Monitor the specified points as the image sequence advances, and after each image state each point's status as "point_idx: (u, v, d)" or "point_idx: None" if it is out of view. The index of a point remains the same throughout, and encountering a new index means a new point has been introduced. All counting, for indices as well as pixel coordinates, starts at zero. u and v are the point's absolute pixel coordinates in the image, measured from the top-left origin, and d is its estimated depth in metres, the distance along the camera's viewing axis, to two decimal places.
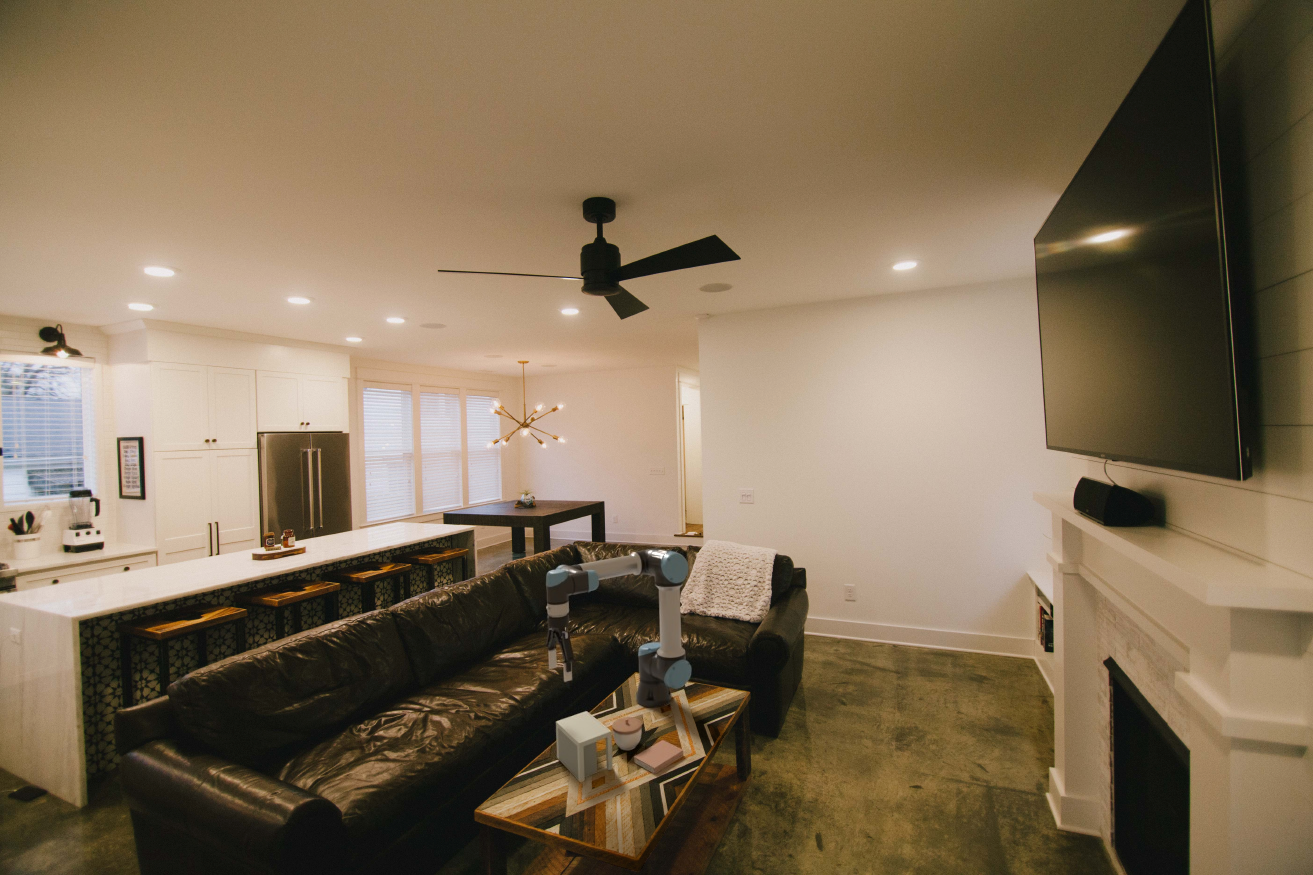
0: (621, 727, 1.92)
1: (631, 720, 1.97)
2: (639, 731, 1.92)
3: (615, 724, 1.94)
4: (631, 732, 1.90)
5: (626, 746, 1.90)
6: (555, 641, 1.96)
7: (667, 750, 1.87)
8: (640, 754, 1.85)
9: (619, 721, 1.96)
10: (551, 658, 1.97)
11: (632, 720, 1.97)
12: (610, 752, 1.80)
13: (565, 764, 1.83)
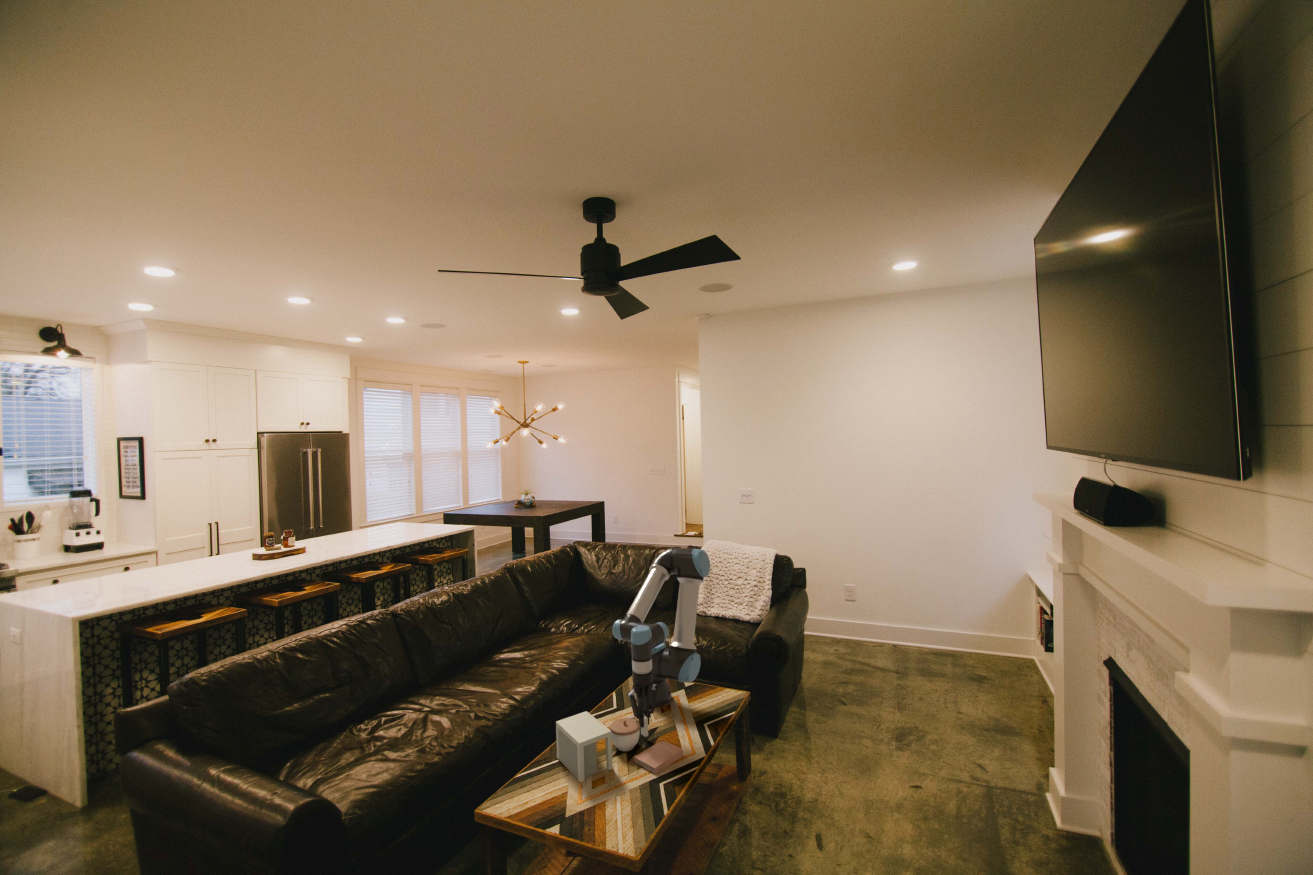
0: (619, 728, 1.92)
1: (629, 721, 1.96)
2: (637, 732, 1.92)
3: (613, 725, 1.94)
4: (629, 733, 1.89)
5: (624, 747, 1.89)
6: (645, 702, 1.99)
7: (667, 750, 1.87)
8: (640, 754, 1.85)
9: (617, 722, 1.96)
10: None
11: (630, 720, 1.96)
12: (610, 752, 1.80)
13: (565, 764, 1.83)
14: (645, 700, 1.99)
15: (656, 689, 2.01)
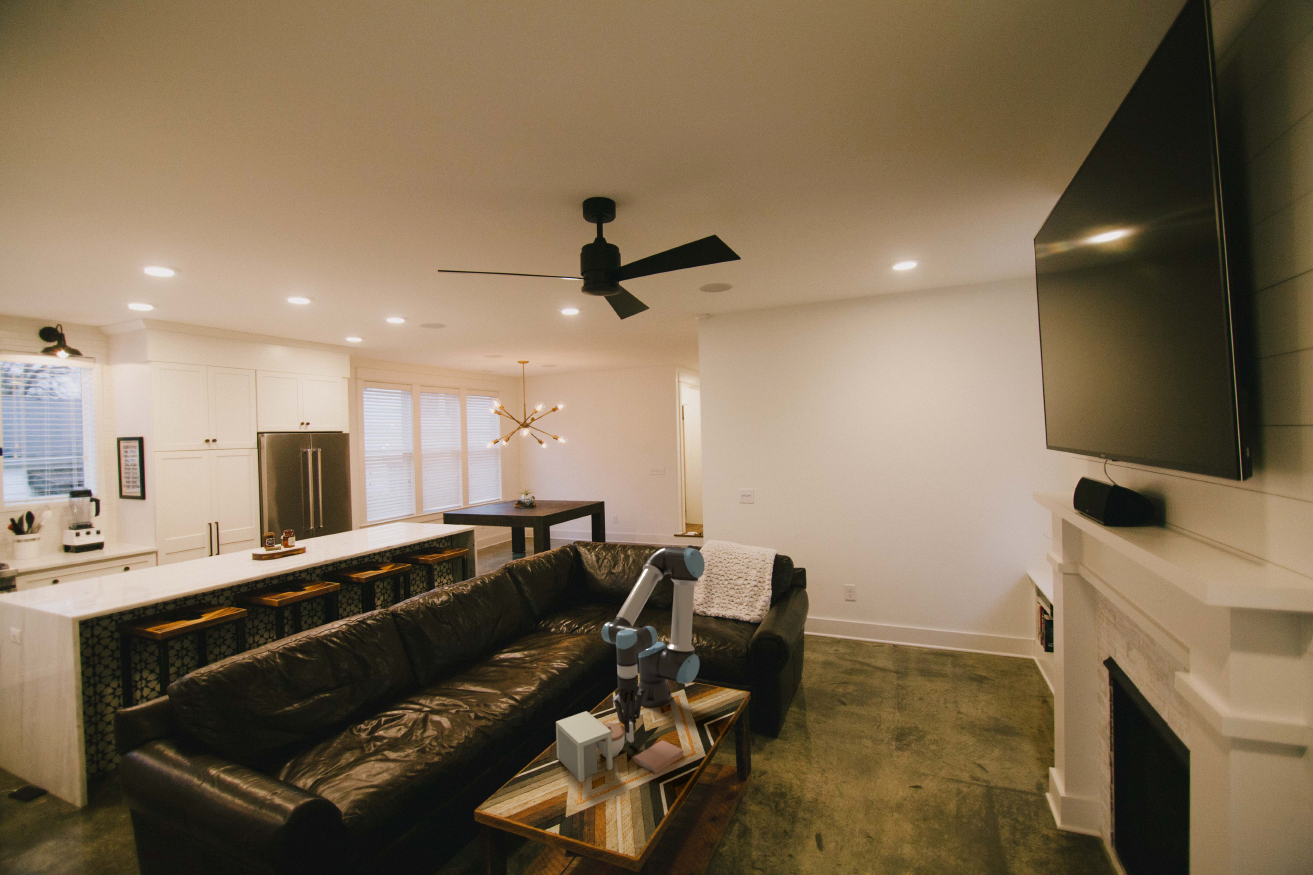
0: None
1: (614, 726, 1.93)
2: (622, 738, 1.88)
3: None
4: (614, 739, 1.85)
5: None
6: (630, 707, 1.95)
7: (667, 750, 1.87)
8: (640, 754, 1.85)
9: None
10: None
11: (616, 726, 1.93)
12: (610, 752, 1.80)
13: (565, 764, 1.83)
14: (630, 705, 1.95)
15: (642, 694, 1.97)
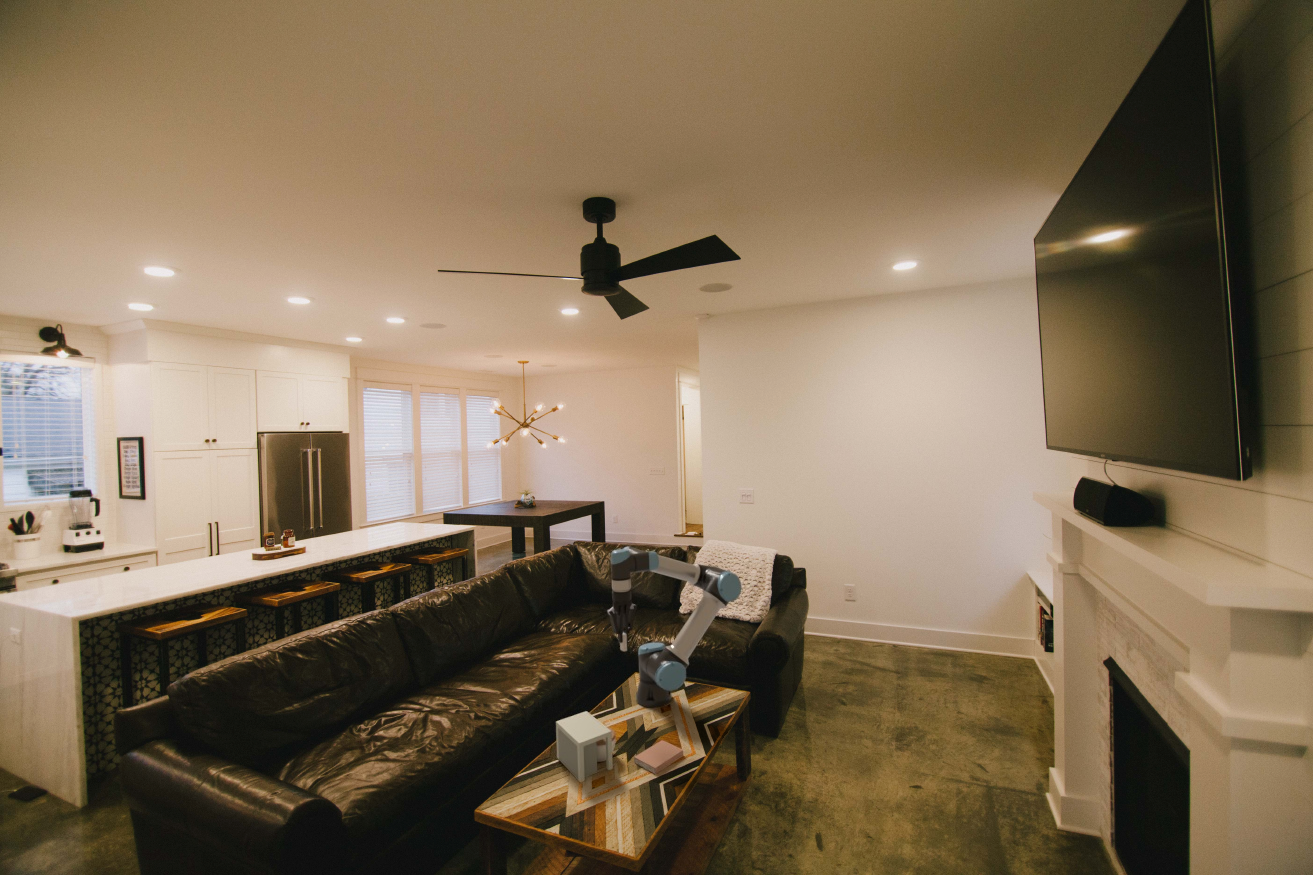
0: None
1: None
2: (612, 742, 1.86)
3: None
4: (604, 743, 1.83)
5: (598, 757, 1.84)
6: (624, 619, 2.12)
7: (667, 750, 1.87)
8: (640, 754, 1.85)
9: None
10: None
11: None
12: (610, 752, 1.80)
13: (565, 764, 1.83)
14: (624, 618, 2.12)
15: (635, 608, 2.14)
